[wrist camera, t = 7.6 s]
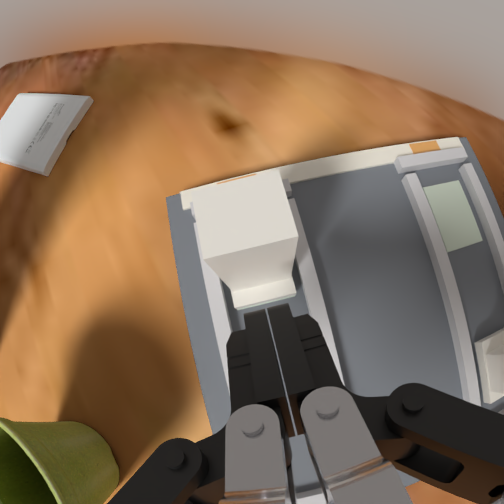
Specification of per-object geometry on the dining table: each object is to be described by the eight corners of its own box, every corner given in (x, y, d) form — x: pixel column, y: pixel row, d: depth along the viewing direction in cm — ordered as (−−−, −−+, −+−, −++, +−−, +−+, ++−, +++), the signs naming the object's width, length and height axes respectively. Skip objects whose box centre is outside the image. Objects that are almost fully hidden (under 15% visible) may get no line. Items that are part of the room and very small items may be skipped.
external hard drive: (26, 99, 27) (96, 104, 25) (-11, 160, 26) (51, 179, 24) (19, 91, 26) (89, 93, 24) (-20, 153, 24) (41, 171, 22)
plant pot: (27, 465, 17) (-47, 488, 8) (50, 372, 19) (-41, 374, 10) (123, 533, 15) (64, 590, 7) (160, 443, 17) (90, 496, 9)
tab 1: (236, 309, 17) (205, 285, 10) (221, 238, 18) (184, 172, 11) (295, 294, 17) (308, 260, 10) (277, 225, 18) (275, 149, 11)
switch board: (244, 516, 15) (240, 534, 13) (172, 206, 21) (161, 191, 19) (531, 404, 15) (549, 407, 13) (458, 147, 21) (470, 131, 19)
